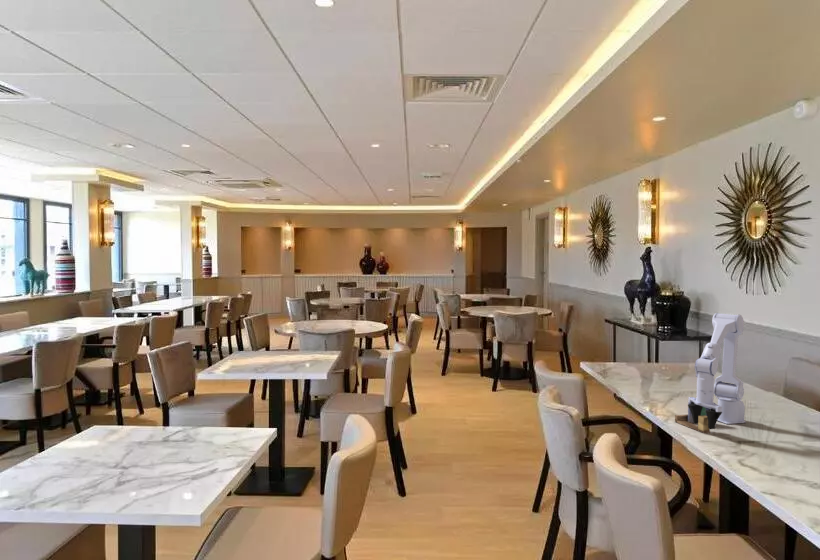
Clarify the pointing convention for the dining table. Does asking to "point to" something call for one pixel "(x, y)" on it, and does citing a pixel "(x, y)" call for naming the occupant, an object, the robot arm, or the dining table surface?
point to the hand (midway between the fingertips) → (703, 425)
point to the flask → (690, 418)
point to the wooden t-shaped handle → (701, 424)
